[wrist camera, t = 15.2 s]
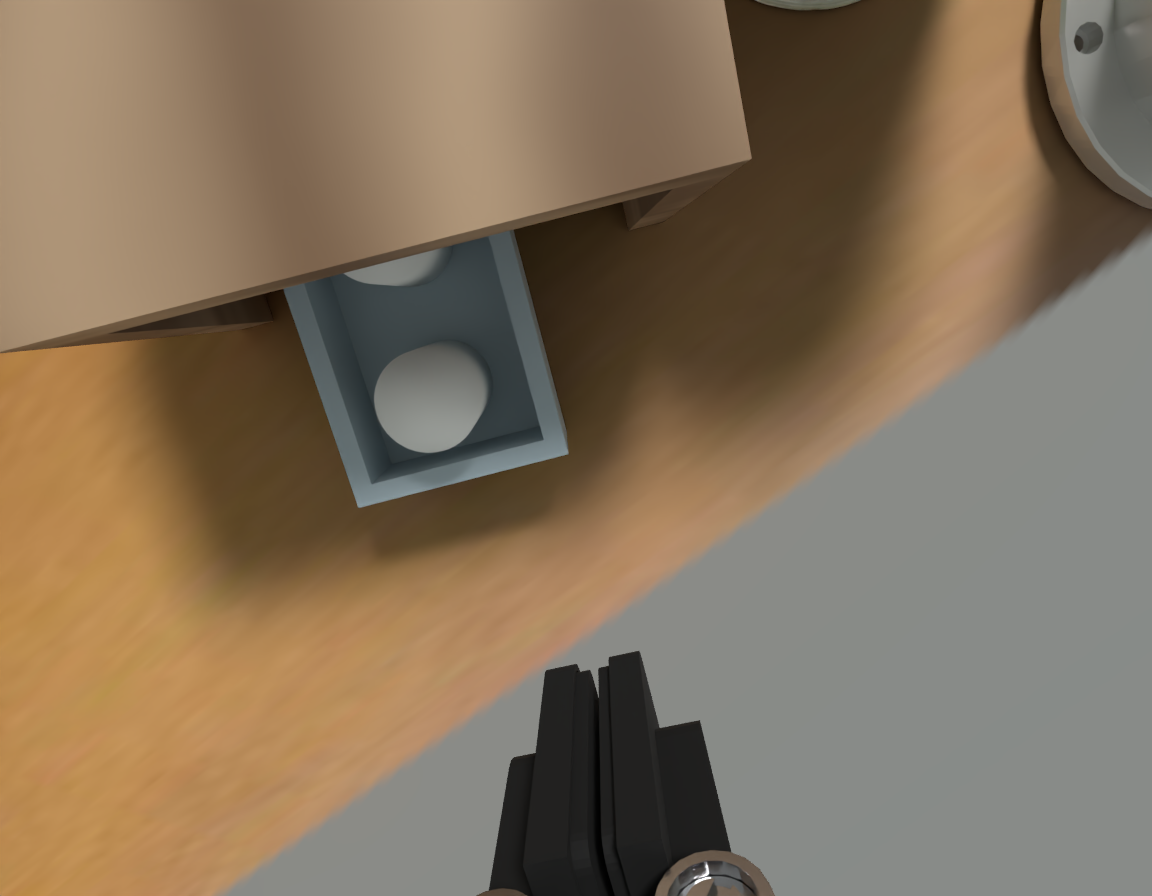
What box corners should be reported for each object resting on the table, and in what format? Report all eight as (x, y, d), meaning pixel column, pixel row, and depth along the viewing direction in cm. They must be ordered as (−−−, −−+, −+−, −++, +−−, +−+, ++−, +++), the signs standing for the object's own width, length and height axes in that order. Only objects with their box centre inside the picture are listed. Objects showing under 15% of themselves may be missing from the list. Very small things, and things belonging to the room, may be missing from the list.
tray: (487, 130, 21) (466, 80, 16) (566, 431, 23) (569, 466, 18) (289, 183, 21) (211, 149, 16) (387, 477, 23) (343, 524, 19)
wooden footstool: (608, -50, 20) (657, -377, 10) (664, 221, 22) (751, 158, 12) (147, 72, 20) (-223, -134, 11) (239, 330, 22) (-9, 354, 12)
